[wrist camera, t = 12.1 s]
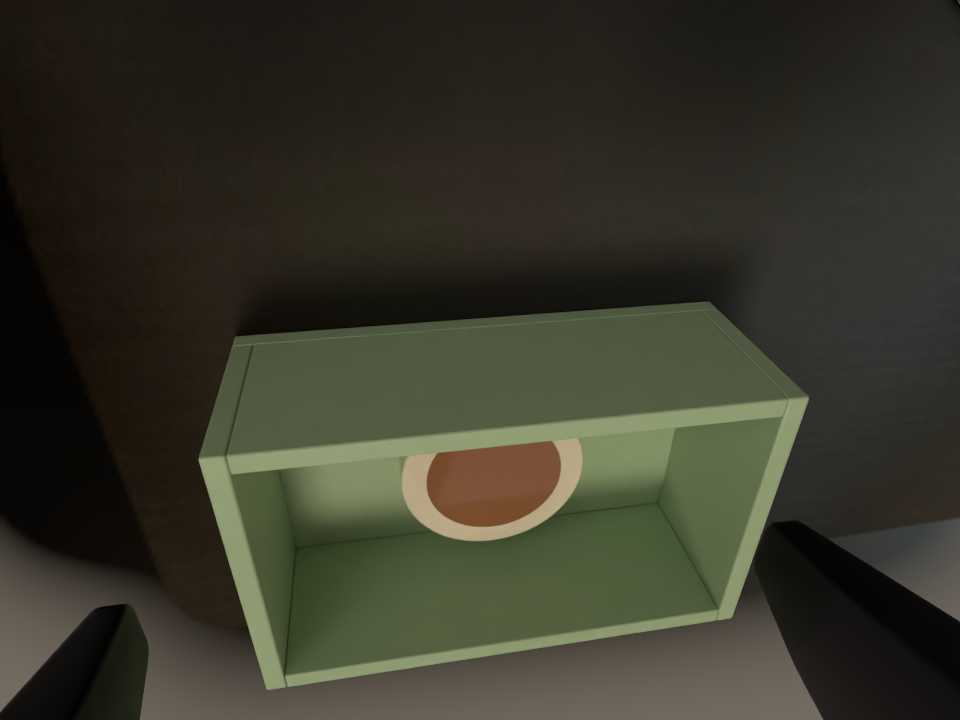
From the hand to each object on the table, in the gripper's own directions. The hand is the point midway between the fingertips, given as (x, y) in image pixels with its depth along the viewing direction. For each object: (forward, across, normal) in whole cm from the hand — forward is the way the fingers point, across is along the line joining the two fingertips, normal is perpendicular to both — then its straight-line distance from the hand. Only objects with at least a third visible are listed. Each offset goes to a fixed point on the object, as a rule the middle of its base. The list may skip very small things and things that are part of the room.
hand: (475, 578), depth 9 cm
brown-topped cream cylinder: (+11, -2, +7) cm, 13 cm away
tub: (+12, -2, +7) cm, 14 cm away
